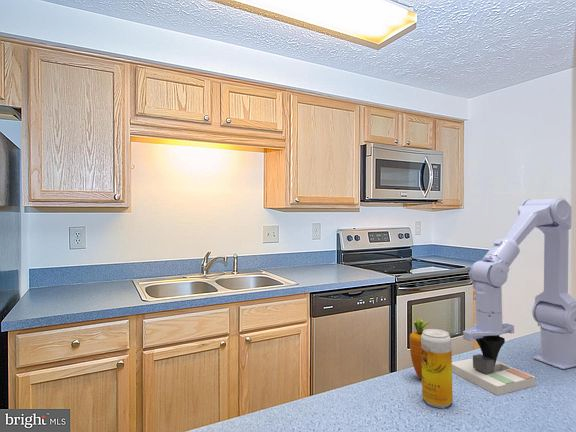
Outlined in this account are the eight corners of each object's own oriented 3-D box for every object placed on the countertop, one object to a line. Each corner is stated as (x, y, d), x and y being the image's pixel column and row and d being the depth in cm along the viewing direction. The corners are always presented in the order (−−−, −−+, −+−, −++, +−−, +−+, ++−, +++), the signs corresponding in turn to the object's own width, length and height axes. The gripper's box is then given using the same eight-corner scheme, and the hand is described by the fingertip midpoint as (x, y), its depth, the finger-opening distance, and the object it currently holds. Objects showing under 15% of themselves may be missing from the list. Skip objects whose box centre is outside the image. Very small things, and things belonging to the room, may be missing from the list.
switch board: (484, 363, 98) (484, 354, 98) (535, 385, 85) (535, 376, 85) (449, 370, 94) (449, 362, 94) (497, 395, 81) (497, 385, 81)
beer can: (416, 398, 81) (414, 330, 81) (438, 392, 83) (436, 326, 83) (436, 411, 75) (434, 339, 75) (459, 405, 77) (457, 334, 77)
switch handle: (480, 373, 91) (480, 354, 91) (494, 379, 88) (494, 359, 88) (473, 374, 90) (472, 355, 90) (487, 381, 87) (486, 361, 87)
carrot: (412, 373, 93) (411, 314, 93) (433, 377, 91) (431, 317, 91) (408, 381, 89) (406, 319, 89) (429, 385, 87) (428, 322, 86)
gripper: (496, 303, 96) (497, 355, 96) (452, 309, 91) (454, 364, 91) (521, 309, 89) (522, 365, 89) (476, 317, 84) (477, 375, 84)
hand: (489, 365), depth 90 cm, fingers closed
